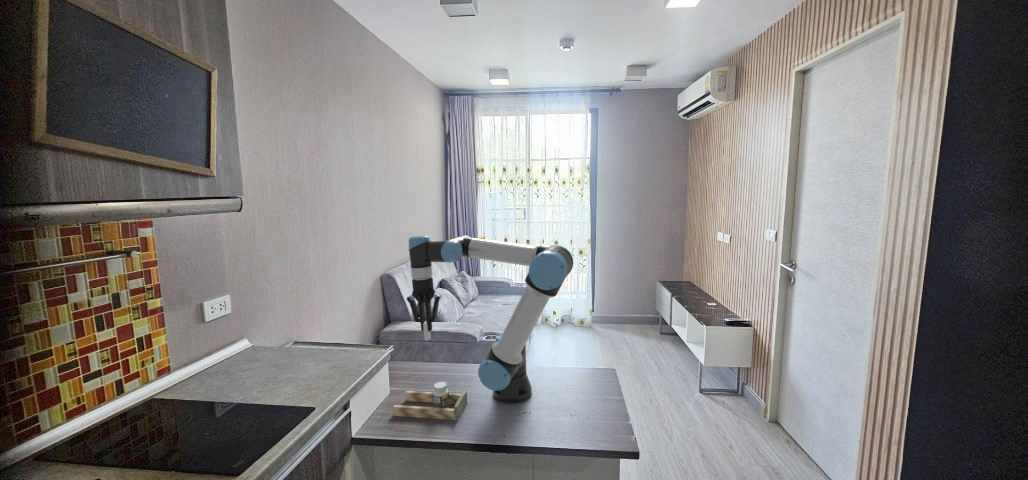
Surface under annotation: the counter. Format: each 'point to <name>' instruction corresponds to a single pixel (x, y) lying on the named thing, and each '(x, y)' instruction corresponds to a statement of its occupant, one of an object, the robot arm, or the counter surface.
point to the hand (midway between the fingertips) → (427, 339)
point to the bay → (431, 412)
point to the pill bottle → (441, 395)
